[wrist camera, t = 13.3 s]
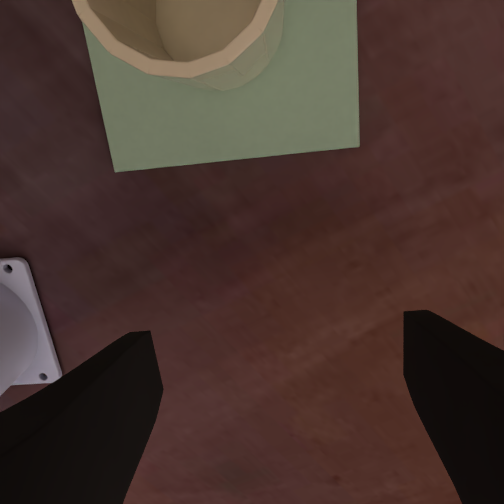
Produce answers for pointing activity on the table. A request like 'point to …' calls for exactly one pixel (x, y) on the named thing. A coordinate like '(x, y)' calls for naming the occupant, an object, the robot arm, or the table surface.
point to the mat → (240, 99)
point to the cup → (189, 37)
